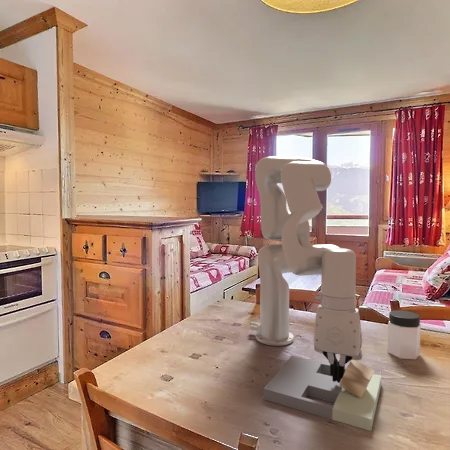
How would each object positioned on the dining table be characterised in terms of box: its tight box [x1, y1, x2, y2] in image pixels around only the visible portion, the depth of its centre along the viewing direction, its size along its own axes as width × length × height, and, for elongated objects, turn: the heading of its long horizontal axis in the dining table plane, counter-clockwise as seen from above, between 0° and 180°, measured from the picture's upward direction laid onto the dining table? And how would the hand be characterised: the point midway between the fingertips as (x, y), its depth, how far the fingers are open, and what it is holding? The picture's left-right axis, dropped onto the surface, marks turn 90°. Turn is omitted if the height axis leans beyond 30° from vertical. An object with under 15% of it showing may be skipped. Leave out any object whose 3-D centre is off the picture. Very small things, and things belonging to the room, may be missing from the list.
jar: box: [387, 309, 422, 360], centre depth 103 cm, size 9×8×12 cm
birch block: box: [339, 360, 375, 399], centre depth 78 cm, size 5×5×5 cm
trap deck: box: [262, 355, 382, 432], centre depth 82 cm, size 23×20×2 cm
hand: (337, 379), depth 80 cm, fingers closed
